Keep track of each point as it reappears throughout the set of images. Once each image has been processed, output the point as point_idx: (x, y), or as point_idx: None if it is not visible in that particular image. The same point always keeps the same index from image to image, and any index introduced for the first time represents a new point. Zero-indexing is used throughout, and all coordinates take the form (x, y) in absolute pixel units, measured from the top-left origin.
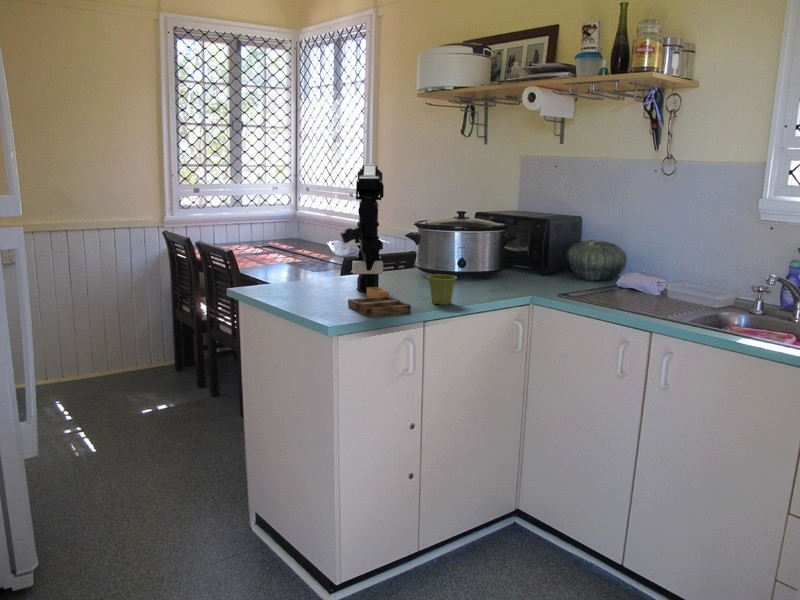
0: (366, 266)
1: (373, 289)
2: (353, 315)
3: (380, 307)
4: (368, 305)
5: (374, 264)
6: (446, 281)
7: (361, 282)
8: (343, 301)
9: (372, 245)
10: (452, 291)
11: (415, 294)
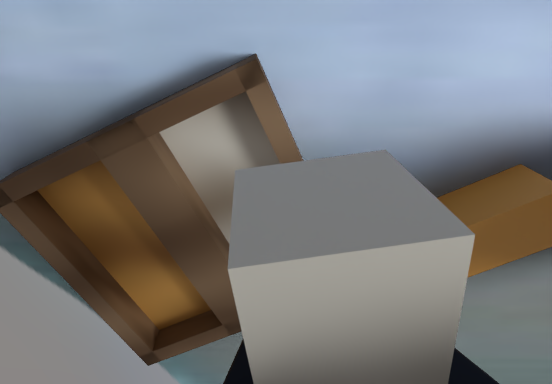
0: (226, 376)
1: (489, 226)
2: (26, 90)
3: (49, 252)
4: (126, 188)
5: None
6: None
7: None
8: (426, 18)
9: None
10: None
11: (514, 354)
